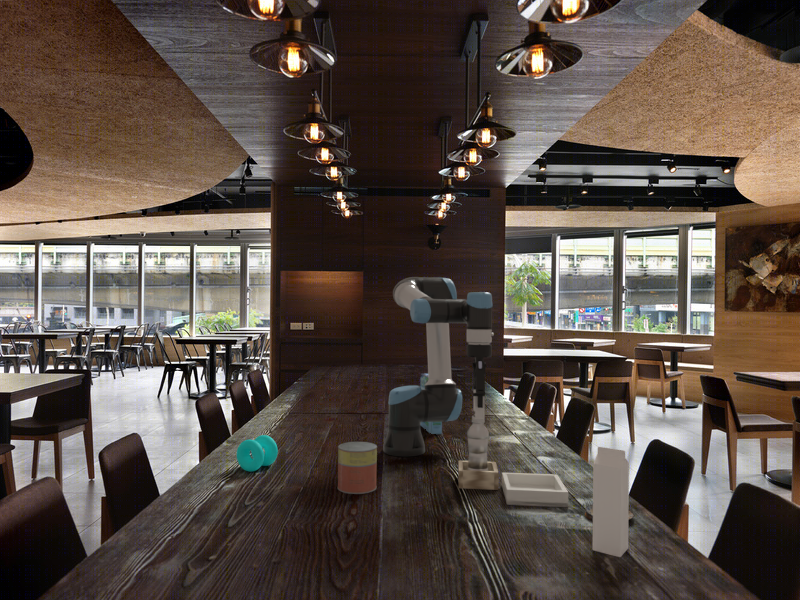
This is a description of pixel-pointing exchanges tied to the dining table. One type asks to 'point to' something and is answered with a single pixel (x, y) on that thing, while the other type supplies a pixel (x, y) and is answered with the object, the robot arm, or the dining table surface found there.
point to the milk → (610, 501)
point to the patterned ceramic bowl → (590, 513)
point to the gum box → (430, 426)
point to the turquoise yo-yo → (257, 453)
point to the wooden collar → (478, 477)
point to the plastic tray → (534, 490)
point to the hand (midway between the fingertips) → (478, 414)
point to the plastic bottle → (477, 445)
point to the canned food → (357, 467)
